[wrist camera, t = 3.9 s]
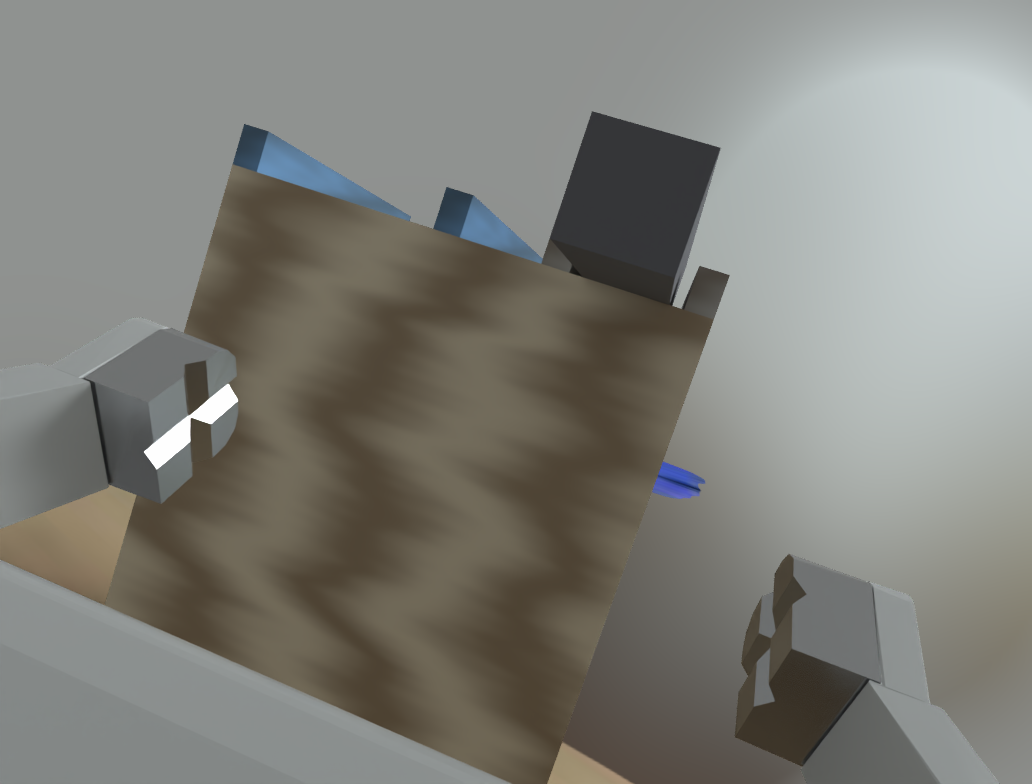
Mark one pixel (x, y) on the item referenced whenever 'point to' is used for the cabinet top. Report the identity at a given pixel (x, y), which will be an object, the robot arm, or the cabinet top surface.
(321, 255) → the riser
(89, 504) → the cabinet top surface
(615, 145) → the dark grey piece
